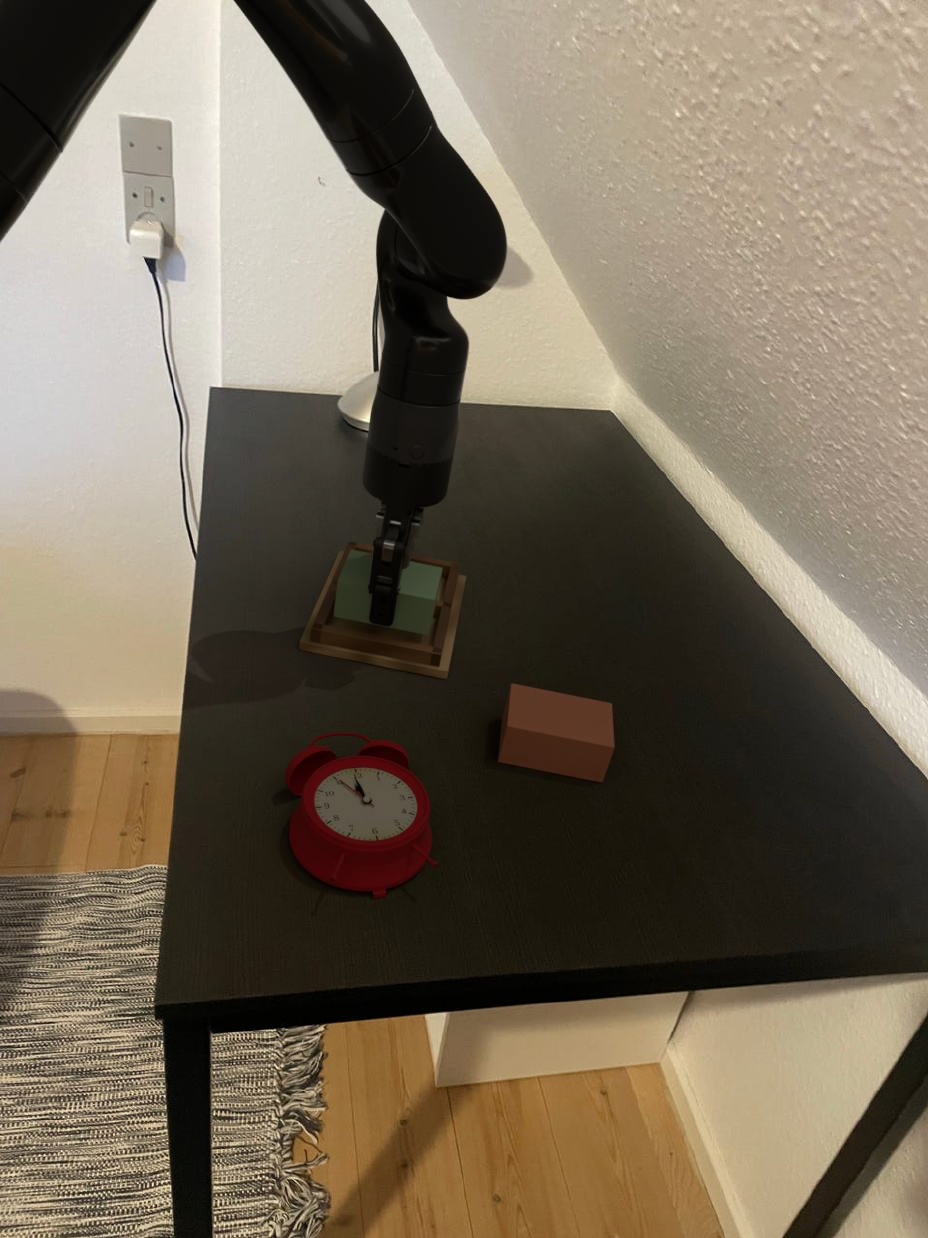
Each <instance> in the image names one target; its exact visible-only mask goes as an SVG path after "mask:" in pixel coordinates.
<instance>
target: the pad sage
mask: <svg viewBox="0 0 928 1238" xmlns="http://www.w3.org/2000/svg"><path fill="white" fill-rule="evenodd" d="M371 556H372V554H371V553H366V552H361V551H356V550H350V552H349V555H348V557H347V559H346V562H345V564H344V566H343V569H342V571H341V574H340V576H339V578H338V582H337V590H336V599H335V607H334V617H339V618H344V619H349V620H354V621H359V622H364V623H369V624H373V623H371V622H370V621H369V615H370V608H371V601H372V594H369V589H368V585H369V584H370V576H371V567H372V560H371ZM442 569H443V568H441V567H436V566H431V565H426V564H421V563H416V562H411V561H410V565H409V567H408V568H406V569H404V570H403V573H402V578H401V583H400V585H401V590H400V591H399V594H398V595H397V602H396V608H395V614H394V620H393V623H392V625H391V626H384V627H389V628H394V629H399V630H404V631H409V632H414V633H419V634H424V635H429V631H430V627H431V623H432V619H433V614H434V610H435V606H436V601H437V596H438V591H439V585H440V580H441V575H442ZM380 577H383V576H380ZM383 578H388V577H383ZM388 579H391V578H388ZM374 625H378V624H374ZM379 626H383V625H379Z"/></svg>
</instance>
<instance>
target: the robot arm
mask: <svg viewBox="0 0 928 1238" xmlns="http://www.w3.org/2000/svg"><path fill="white" fill-rule="evenodd" d="M232 1H233V2H234V4H235V5H236V6H237V7H238V9H239V10H240V11H241V13H242V14H243V15H244V17H245V18H246V19H247V21H248V22H249V23H250V25H251V26H252V27H253V29H254V30H255V32H256V33H257V35H258V37H260V38H261V40H262V41H263V42H264V44H265V45H266V47H267V48H268V50H269V51H270V53H271V54H272V55H273V57H274V58H275V60H276V61H277V63H278V64H279V66H280V67H281V68H282V70H283V72H284V73H285V75H286V76H287V77H288V79H289V80H290V82H291V83H292V85H293V86H294V88H295V89H296V92H297V93H298V94H299V96H300V97H301V99H302V101H303V102H304V104H305V105H306V107H307V109H308V110H309V112H310V113H311V115H312V117H313V119H314V120H315V122H316V124H317V125H318V127H319V129H320V131H321V133H322V134H323V136H324V137H325V139H326V140H327V143H328V144H329V146H330V147H331V149H332V151H333V152H334V154H335V156H336V157H337V159H338V160H339V162H340V165H342V167H343V169H344V170H345V172H346V173H347V175H348V176H349V178H350V179H351V181H352V182H353V183H354V185H355V186H356V187H357V189H359V191H360V192H361V193H362V194H364V195H365V196H366V197H367V198H368V199H370V200H371V201H372V202H374V203H376V204H377V205H379V206H380V207H381V208H383V211H382V214H381V217H380V220H379V223H378V228H377V232H376V240H375V265H376V266H375V267H376V277H377V286H378V287H377V288H378V297H379V309H380V314H381V315H380V316H381V320H382V328H383V341H382V347H381V352H380V361H379V369H378V375H377V385H376V389H375V393H374V396H373V401H372V404H371V408H370V415H369V423H368V431H367V438H366V439H367V440H366V446H365V455H364V463H363V471H362V477H361V479H362V480H361V481H362V485H363V488H364V489H365V490H366V492H367V493H368V494H369V495H370V496H372V497H373V498H374V499H377V500H379V501H380V506H379V510H377V511H376V515H375V519H374V525H373V528H374V531H375V533H374V534H375V535H374V540H373V542H372V546H373V550H372V556H371V560H372V567H371V576H370V584H369V585H368V589H369V594H372V601H371V608H370V615H369V621H370V622H371V623H373V624H378V625H383V626H391V625H392V623H393V620H394V614H395V608H396V602H397V595H398V594H399V591H400V590H401V585H400V583H401V578H402V573H403V570H404V569H406V568H408V567H409V565H410V561H411V556H412V554H413V550H414V545H415V543H417V541H418V537H419V534H420V530H421V529H420V528H421V526H422V523H423V520H424V516H425V511H426V510H425V508H428V507H433V506H435V505H439V503H442V501H443V500H444V499H445V498H446V497H447V494H448V489H449V483H450V478H451V472H452V466H453V462H454V456H455V450H456V444H457V441H458V440H457V439H458V434H459V428H460V418H461V417H460V416H461V400H462V394H463V388H464V382H465V378H466V371H467V366H468V360H469V353H470V338H469V335H468V332H467V331H466V329H465V328H464V326H462V324H461V323H460V322H459V321H458V320H457V319H456V317H455V316H454V314H453V313H452V311H451V309H450V307H449V300H448V299H449V298H450V299H455V300H460V301H461V300H462V301H464V300H465V301H466V300H474V299H477V298H479V297H481V296H483V295H485V294H487V293H488V292H489V291H491V290H492V289H493V288H494V287H495V286H496V285H497V283H498V282H499V281H500V279H501V277H502V275H503V273H504V270H505V267H506V263H507V257H508V237H507V231H506V228H505V224H504V221H503V219H502V216H501V213H500V211H499V210H498V207H497V205H496V204H495V202H494V200H493V199H492V197H491V196H490V195H489V193H488V191H487V190H486V188H485V187H484V185H483V184H482V183H481V182H480V180H479V179H478V177H477V176H476V175H475V174H474V172H473V171H472V169H471V168H470V167H469V165H468V164H467V163H466V161H465V160H464V158H463V157H462V156H461V154H460V153H458V151H457V150H456V149H455V148H454V147H453V146H452V144H451V142H449V140H448V139H447V138H446V137H445V135H444V134H443V132H442V131H441V129H440V127H439V125H438V123H437V120H436V118H435V116H434V113H433V111H432V109H431V107H430V105H429V102H428V101H427V99H426V97H425V95H424V92H423V90H422V89H421V87H420V85H419V83H418V80H417V78H416V75H415V74H414V71H413V70H412V67H411V66H410V64H409V62H408V60H407V57H406V56H405V54H404V52H403V50H402V49H401V47H400V45H399V44H398V42H397V41H396V39H395V38H394V36H393V35H392V33H391V31H389V29H388V28H387V27H386V25H385V23H384V22H383V21H382V20H381V18H380V17H379V16H378V14H377V13H376V12H375V10H374V9H373V8H372V7H371V6H370V5H369V3H368V2H367V1H366V0H232ZM157 2H158V0H0V244H1V243H2V241H3V240H4V239H5V238H6V236H7V235H8V233H9V232H10V231H11V229H12V228H13V226H14V225H15V224H16V222H17V221H18V220H19V218H20V217H21V216H22V214H23V213H24V212H25V210H26V208H27V207H28V205H30V203H31V202H32V200H33V198H34V197H35V195H36V193H38V190H39V189H40V188H41V186H42V185H43V183H44V181H45V180H46V178H47V176H48V175H49V174H50V172H51V171H52V170H53V168H54V166H55V164H56V163H57V161H58V160H59V159H60V157H61V155H62V154H63V153H64V151H65V150H66V148H67V146H68V144H69V143H70V141H71V139H72V138H73V136H74V135H75V132H76V131H77V129H78V127H79V125H80V124H81V122H82V121H83V119H84V117H85V116H86V114H87V112H88V110H89V109H90V108H91V106H92V104H93V102H94V101H95V100H96V98H97V96H98V95H99V93H100V92H101V91H102V89H103V88H104V86H105V84H106V82H107V81H108V80H109V78H110V77H111V75H112V73H113V72H115V69H116V67H118V64H119V63H120V61H121V60H122V58H123V57H124V55H125V54H126V52H127V50H128V49H129V47H130V46H131V44H132V43H133V41H134V39H135V38H136V36H137V34H139V31H140V30H141V29H142V26H143V25H144V23H145V22H146V20H147V18H148V16H149V15H150V13H151V12H152V10H153V8H154V6H155V5H156V3H157ZM380 576H383V577H388V578H391V579H388V578H383V577H380Z"/></svg>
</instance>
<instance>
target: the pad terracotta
mask: <svg viewBox="0 0 928 1238" xmlns="http://www.w3.org/2000/svg"><path fill="white" fill-rule="evenodd" d="M504 705H505V706H504V710H503V713H502V717H501V727H500V728H501V729H500V737H499V746H498V756H497V763H502V764H508V765H511V766H516V767H521V768H527V769H531V770H536V771H542V772H546V773H551V774H555V775H561V776H567V777H572V778H576V779H577V778H578V779H582V780H586V781H592V782H596V783H604V779H605V777H606V775H607V771H608V768H609V765H610V762H611V760H612V756H613V754H614V751H615V731H614V730H615V729H614V714H613V713H614V712H613V703H611V702H607V701H603V700H602V701H601V700H596V699H592V698H587V697H583V696H577V695H572V694H567V693H562V692H557V691H552V690H548V689H542V688H537V687H533V686H527V685H523V684H518V683H512V682H511V683H510V686H509V689H508V693H507V698H506V702H505V704H504Z"/></svg>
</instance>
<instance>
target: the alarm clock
mask: <svg viewBox="0 0 928 1238" xmlns="http://www.w3.org/2000/svg"><path fill="white" fill-rule="evenodd" d="M338 736H349V737H351V736H352V737H356V738H361V739H362V740H365V741H366V742H367V743H365V744H364V745H362V746H361V748H360V749H359V751H358V753H357V754H356V755H350V756H344V757H339V758H337V754H336V753H335V752H334V751H333V750H332V749H331V748H330V747H328V746H325V745H314V744H315V743H317V742H318V741H320V740H323V739H327V738H330V737H338ZM409 769H410V759H409V754H408V753H407V751H406V749H405V748H403V746H401V744H398V743H396V742H394V741H391V740H387V739H375V740H371V739H370V738H369V737H367V736H366V735H363V734H361V733H357V732H347V731H340V732H331V733H325V734H322V735H318V736H316V737H315V738H313V739H311V741H310V742H309V744H308V747H306V748H304V749H302V750H301V751H299V752H298V753H296V754H295V755H294V756H293V757H292V758H291V760H290V761H289V762H288V764H287V767H286V769H285V783H286V786H287V788H288V789H289V791H290V792H291V793H292V794H293V795H295V796H300V803H299V804H298V806H297V807H296V808H295V810H294V812H293V814H292V816H291V818H290V822H289V829H288V830H289V831H288V839H289V844H290V847H291V851H292V854H293V855H294V856H295V859H296V860H297V861H298V863H299V864H300V865H301V867H303V868H304V869H305V870H306V871H307V872H308V873H310V875H312V876H313V877H315V878H317V879H318V880H320V881H321V882H323V883H326V884H327V885H331V886H334V887H336V888H339V889H343V890H348V891H355V892H372V894H373V896H372V899H373V900H374V899H381V898H386V897H387V894H388V891H387V890H386V889H391V888H394V887H397V886H399V885H401V884H403V883H405V882H407V881H409V880H410V879H412V878H413V877H414V876H415V875H417V874H418V873H419V872H420V871H421V870H422V869H423V867H424V866H425V865H426V863H427V861H428V862H429V863H430V864H431V868H432V869H433V868H434V869H435V868H437V867H438V866H439V863H438V861H436V860H433V859H432V858H431V857H429V856H430V854H431V849H432V844H433V833H432V828H431V825H430V822H429V821H430V816H431V803H430V799H429V794H428V792H427V789H426V787H425V786H424V784H423V783H422V781H421V780H420V779H419V778H418V777H417V776H416V775H415V774H414V773H413V772H412V771H410V770H409Z"/></svg>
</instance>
